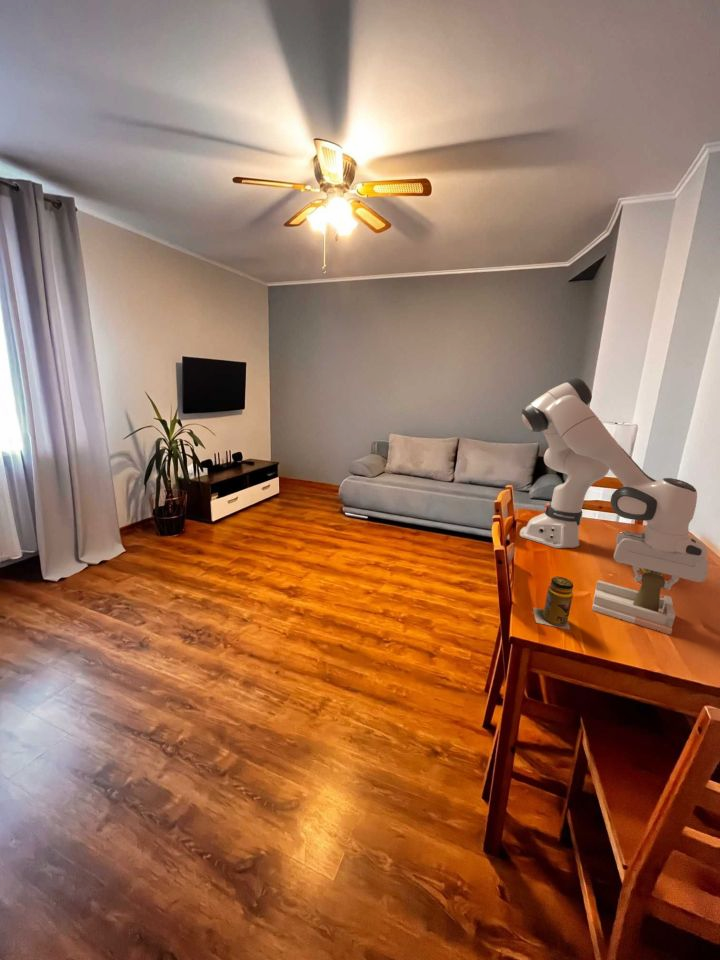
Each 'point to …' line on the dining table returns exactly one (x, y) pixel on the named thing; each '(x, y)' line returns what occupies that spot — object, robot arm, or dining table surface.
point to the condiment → (556, 604)
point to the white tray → (632, 607)
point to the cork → (649, 591)
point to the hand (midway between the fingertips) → (651, 584)
